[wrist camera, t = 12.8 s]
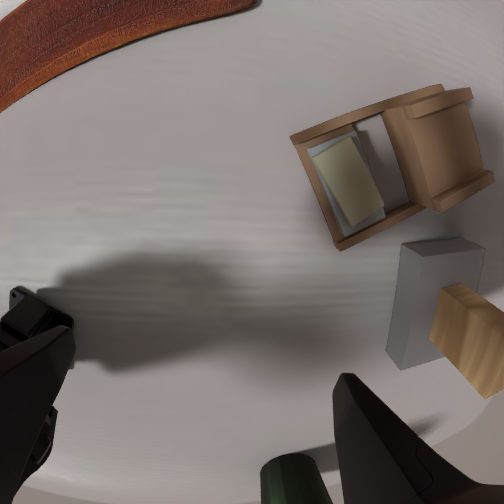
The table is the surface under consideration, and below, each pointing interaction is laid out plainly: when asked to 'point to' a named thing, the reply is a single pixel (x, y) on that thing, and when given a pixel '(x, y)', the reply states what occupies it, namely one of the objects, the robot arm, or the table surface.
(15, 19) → the wooden tablet
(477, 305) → the oak block
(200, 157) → the table surface
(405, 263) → the plinth
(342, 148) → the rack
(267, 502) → the potion bottle
